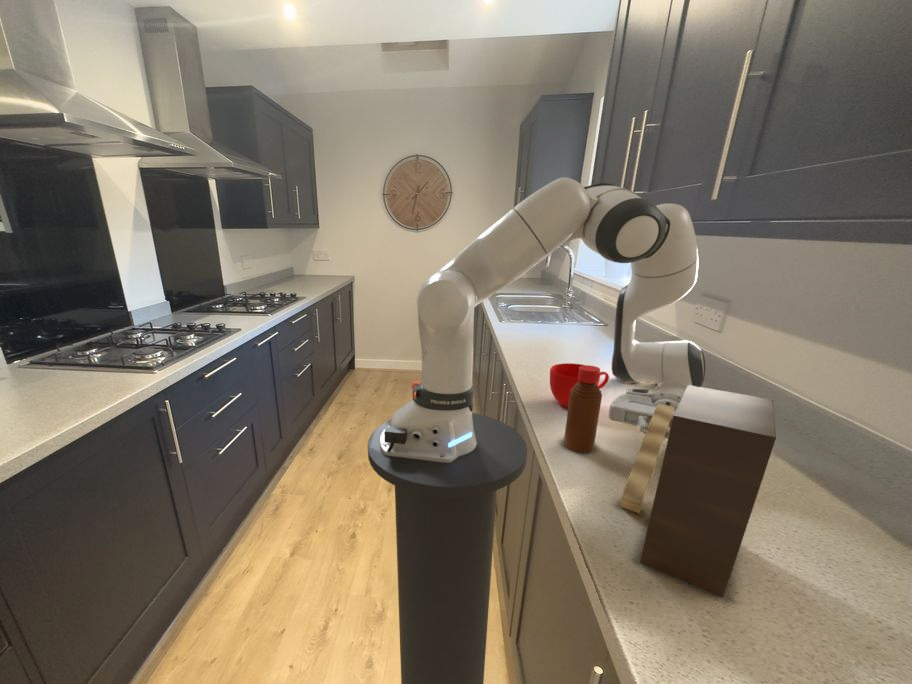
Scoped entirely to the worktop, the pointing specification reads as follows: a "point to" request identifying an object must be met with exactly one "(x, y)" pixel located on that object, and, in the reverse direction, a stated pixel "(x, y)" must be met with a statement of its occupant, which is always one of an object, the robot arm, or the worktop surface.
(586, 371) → the cap
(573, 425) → the bottle
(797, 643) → the worktop surface
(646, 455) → the bar
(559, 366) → the ceramic cup
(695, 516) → the pedestal
